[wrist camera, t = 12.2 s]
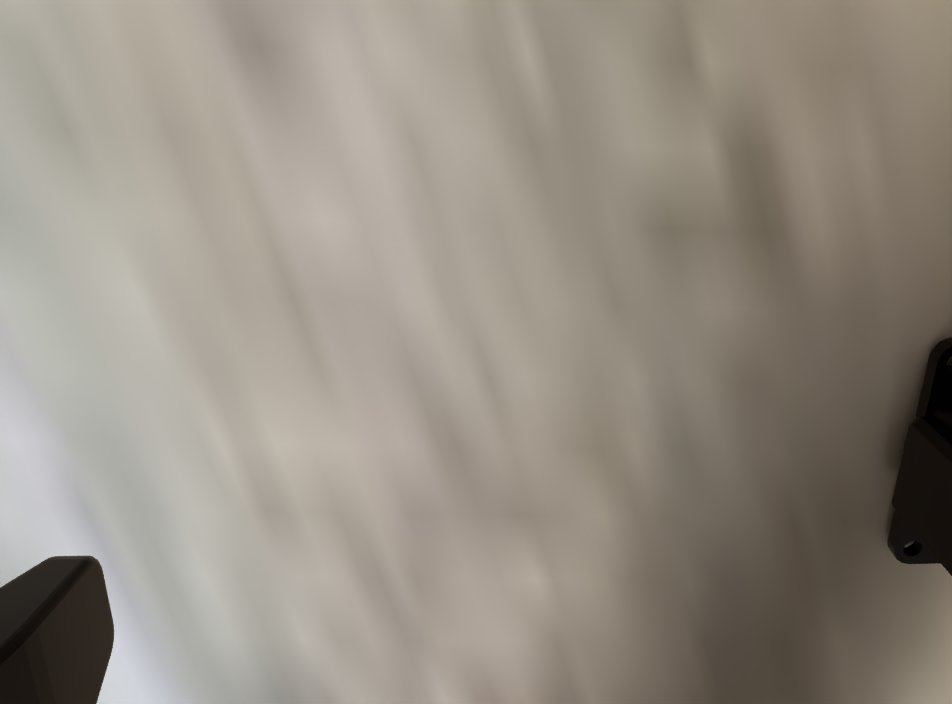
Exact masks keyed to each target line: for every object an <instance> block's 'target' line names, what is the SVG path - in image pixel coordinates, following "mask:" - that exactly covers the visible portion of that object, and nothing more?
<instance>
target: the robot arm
mask: <svg viewBox="0 0 952 704" xmlns="http://www.w3.org/2000/svg"><path fill="white" fill-rule="evenodd" d="M951 356H952V338H948V339H944V340H943V341H941V342H939V343H938V344H937V345H936V346H935V347H934V348H933V349H932V351H931V353H930V355H929V359H928V364H927V368H926V373H925V377H924V381H923V386H922V390H921V395H920V399H919V404H918V408H917V412H916V417H915V419H914V420H913V421H912V423H911V424H910V425H909V429H908V434H907V438H906V443H905V447H904V451H903V456H902V460H901V465H900V469H899V474H898V478H897V483H896V487H895V492H894V496H893V501H892V504H893V507H894V508H895V510H894V514H893V519H892V523H891V528H890V532H889V537H888V547H889V549H890V551H891V552H892V553H893V555H894V556H895V557H896V559H897V560H899V561H900V562H902V563H907V564H931V563H941V564H942V565H943V566H944V567H945V569H946V570H947V571H948V572H949V573H950V575H951V576H952V364H951V365H947V362H948V360H949V358H950V357H951ZM911 541H914V542H913V544H912V545H910V546H909V547H905V545H906V544H907V543H909V542H911ZM904 547H905V548H904ZM113 642H114V625H113V619H112V614H111V609H110V604H109V599H108V595H107V590H106V585H105V580H104V575H103V570H102V567H101V565H100V563H99V561H98V560H97V559H95V558H94V557H92V556H55V557H51V558H48V559H46V560H45V561H43V562H41V563H40V564H38V565H36V566H35V567H33V568H31V569H30V570H28V571H27V572H25V573H23V574H22V575H20V576H18V577H17V578H15V579H14V580H12V581H10V582H9V583H7V584H5V585H4V586H2V587H1V588H0V704H96V703H97V700H98V696H99V693H100V690H101V686H102V683H103V679H104V676H105V673H106V669H107V666H108V662H109V659H110V656H111V652H112V648H113Z"/></svg>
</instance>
